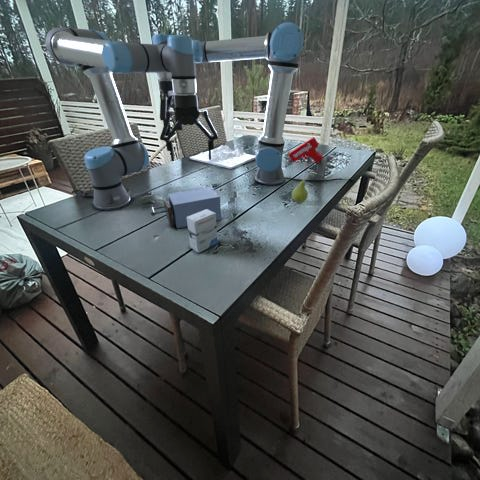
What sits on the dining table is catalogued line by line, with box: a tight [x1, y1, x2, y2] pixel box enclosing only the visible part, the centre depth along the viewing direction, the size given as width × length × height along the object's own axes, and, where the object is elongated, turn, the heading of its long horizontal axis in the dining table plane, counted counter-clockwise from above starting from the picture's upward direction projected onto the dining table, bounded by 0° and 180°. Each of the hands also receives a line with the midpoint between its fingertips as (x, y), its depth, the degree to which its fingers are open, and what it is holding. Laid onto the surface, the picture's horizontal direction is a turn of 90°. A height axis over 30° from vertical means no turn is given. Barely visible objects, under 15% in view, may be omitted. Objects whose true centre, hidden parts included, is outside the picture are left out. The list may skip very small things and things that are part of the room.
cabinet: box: [167, 186, 222, 229], centre depth 107 cm, size 18×11×10 cm, turn 113°
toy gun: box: [287, 136, 324, 165], centre depth 169 cm, size 18×4×15 cm
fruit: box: [291, 174, 311, 204], centre depth 118 cm, size 7×8×12 cm
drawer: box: [149, 196, 175, 227], centre depth 105 cm, size 22×10×8 cm, turn 113°
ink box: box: [187, 209, 219, 254], centre depth 89 cm, size 8×5×12 cm, turn 134°
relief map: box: [189, 144, 256, 170], centre depth 177 cm, size 27×35×5 cm
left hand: (191, 159), depth 100 cm, fingers open, 13 cm apart
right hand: (174, 133), depth 126 cm, fingers open, 13 cm apart
